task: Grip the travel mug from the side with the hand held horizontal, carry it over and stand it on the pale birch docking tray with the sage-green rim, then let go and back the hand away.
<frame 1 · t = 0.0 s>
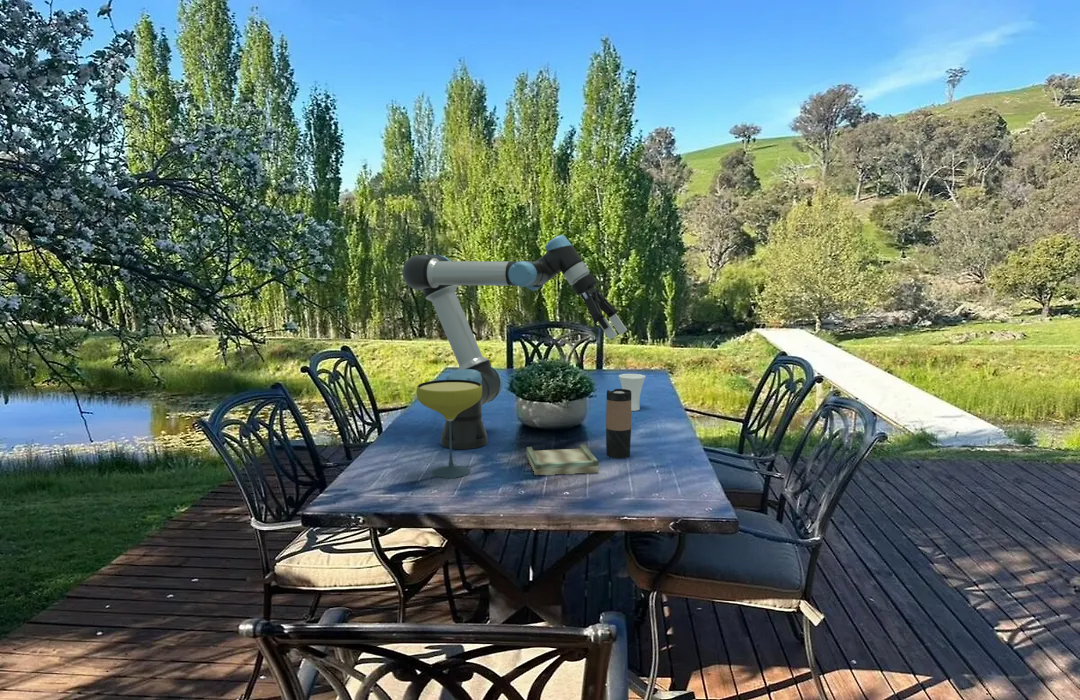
hand: (618, 335, 216), 36 cm above the table, tool tilted 35°, fingers open, 13 cm apart
cocktail glass: (451, 472, 194), on the table
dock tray: (561, 464, 201), on the table
travel mug: (618, 455, 211), on the table
cup: (631, 409, 274), on the table
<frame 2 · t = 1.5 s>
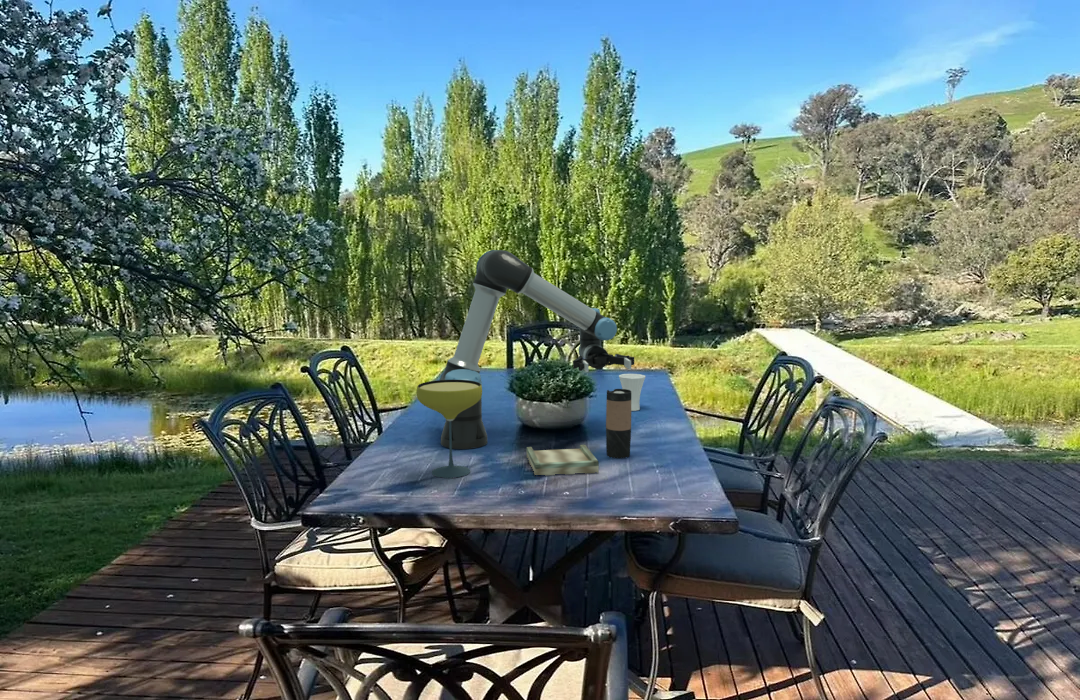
hand: (608, 366, 215), 26 cm above the table, tool horizontal, fingers open, 13 cm apart
nothing on the table moved.
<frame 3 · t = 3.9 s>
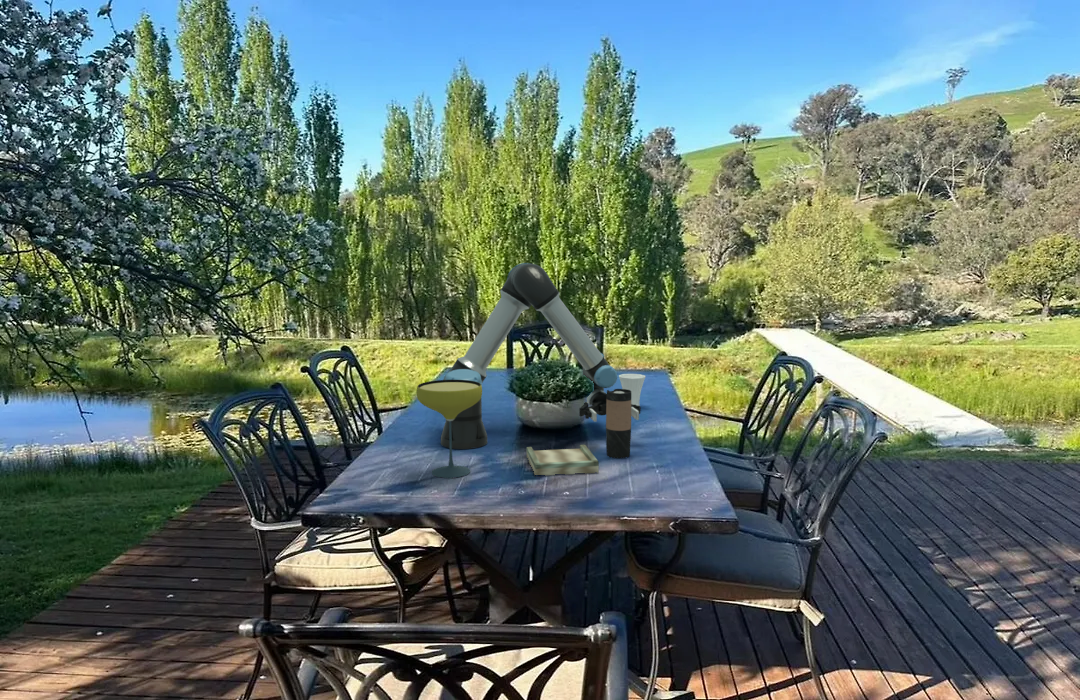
hand: (616, 416, 214), 11 cm above the table, tool horizontal, fingers open, 13 cm apart
nothing on the table moved.
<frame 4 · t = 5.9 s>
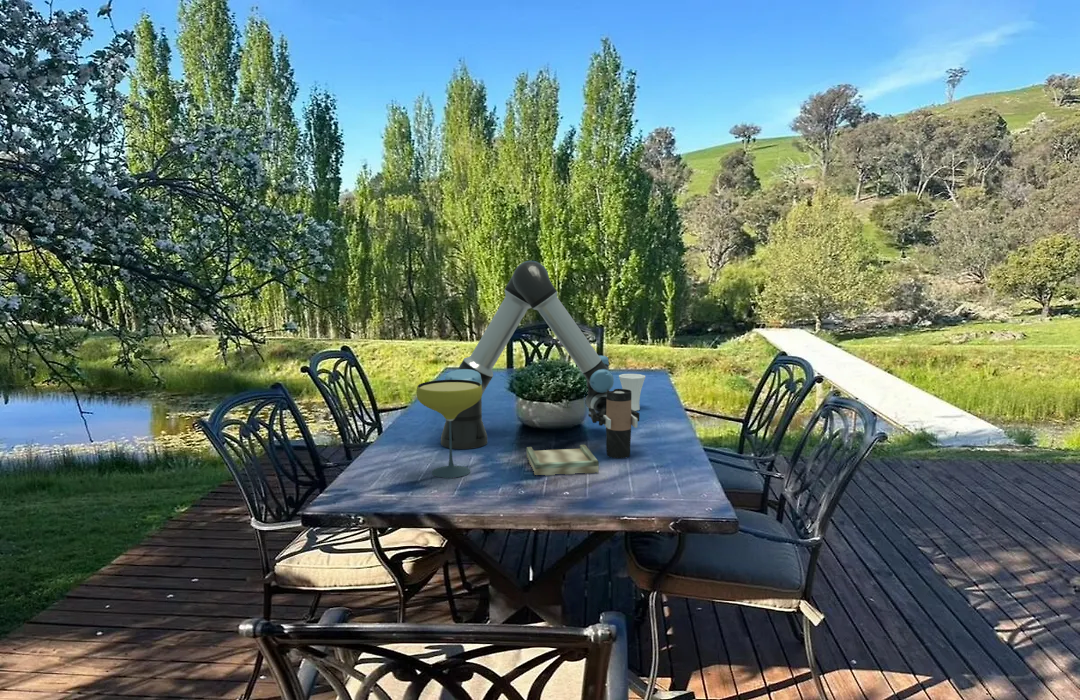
hand: (623, 423, 204), 11 cm above the table, tool horizontal, fingers closed on travel mug, 7 cm apart
travel mug: (618, 455, 211), on the table, touching gripper
everything else where it was.
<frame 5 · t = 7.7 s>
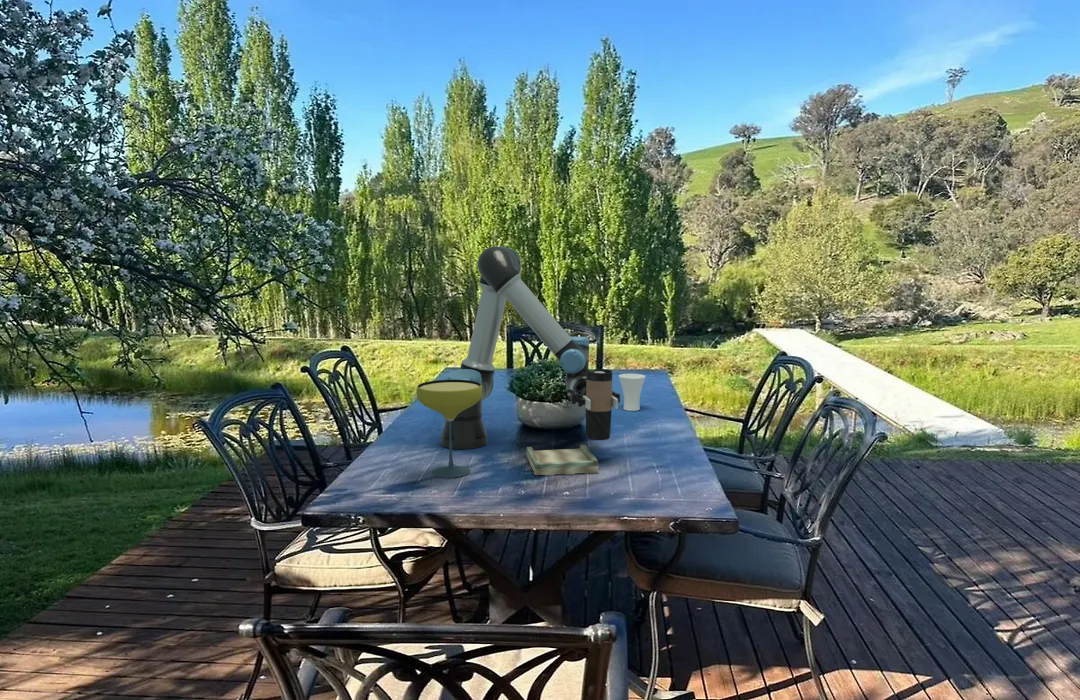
hand: (603, 404, 198), 18 cm above the table, tool horizontal, fingers closed on travel mug, 7 cm apart
travel mug: (597, 437, 204), point 7 cm above the table, touching gripper
everything else where it was.
when the fingers open (14 cm above the table, at t = 9.6 s): travel mug drops 1 cm, resting on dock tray.
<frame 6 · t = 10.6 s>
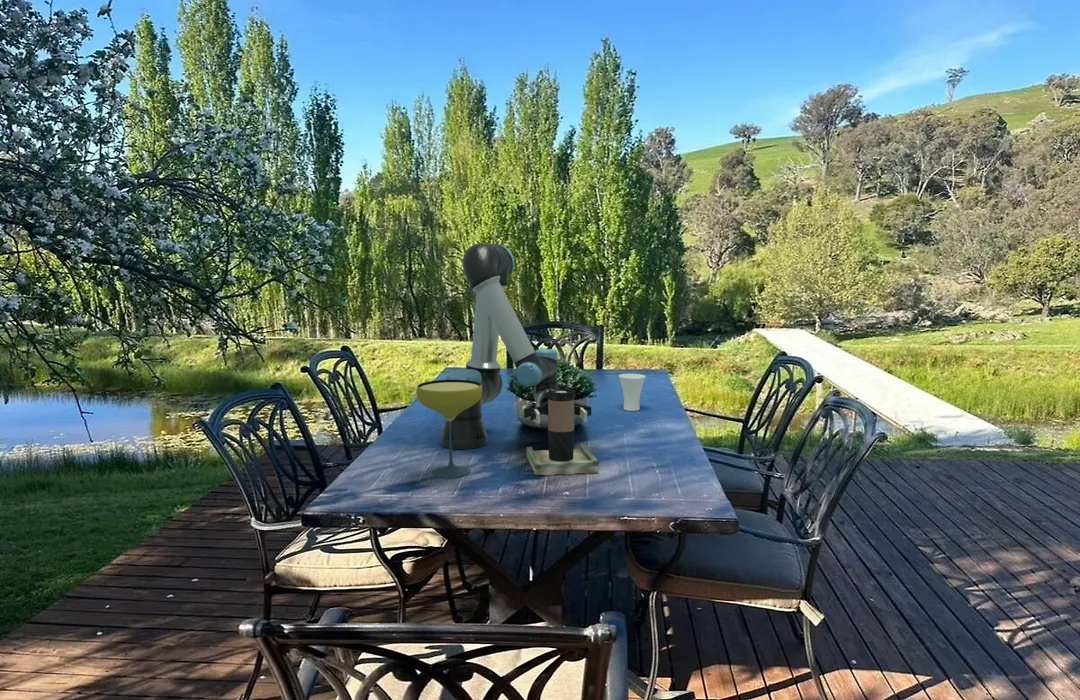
hand: (562, 418, 196), 15 cm above the table, tool horizontal, fingers open, 13 cm apart
travel mug: (561, 458, 201), point 2 cm above the table, touching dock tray
everything else where it was.
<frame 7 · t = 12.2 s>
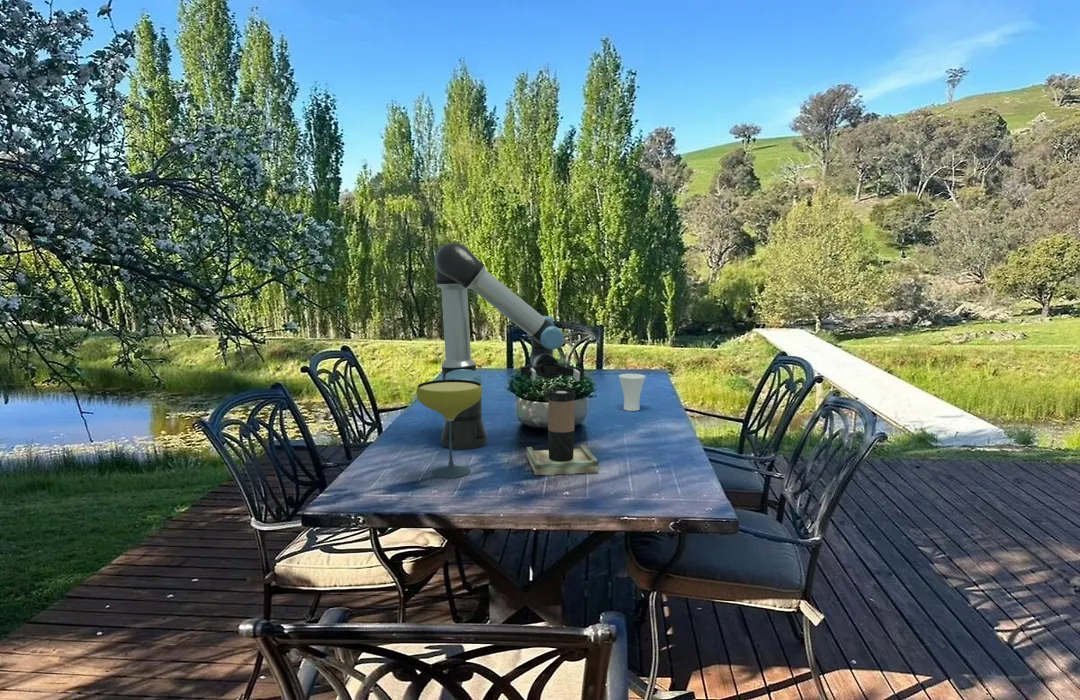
hand: (556, 376, 209), 24 cm above the table, tool horizontal, fingers open, 13 cm apart
nothing on the table moved.
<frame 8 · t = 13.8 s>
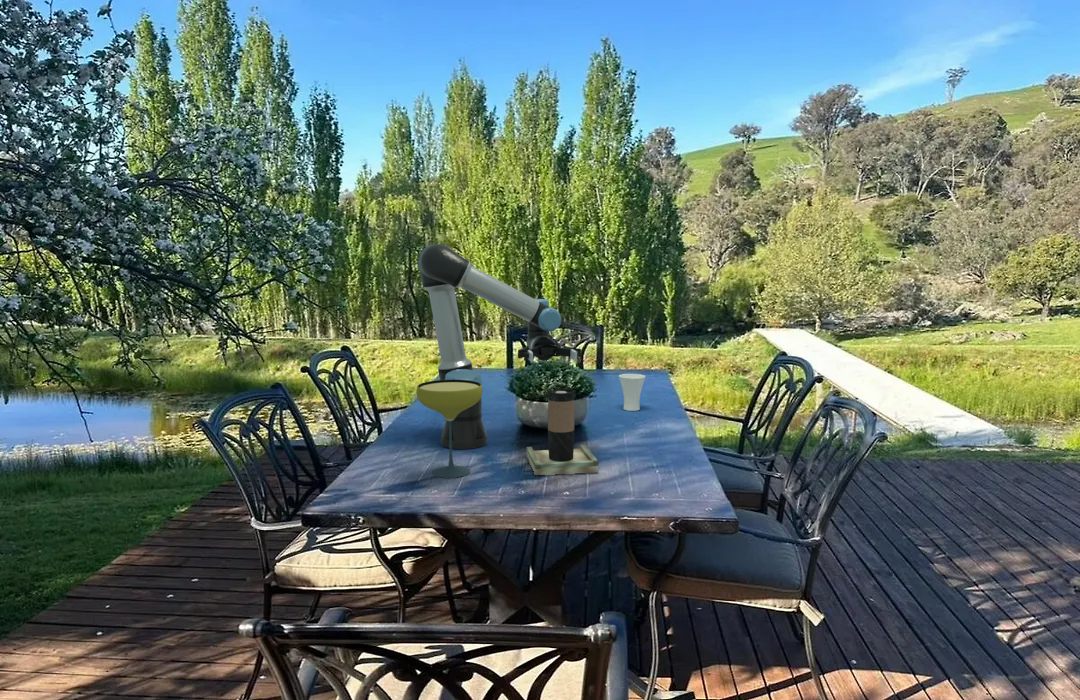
hand: (554, 357, 209), 30 cm above the table, tool horizontal, fingers open, 13 cm apart
nothing on the table moved.
at the end: travel mug inside the target area on the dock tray (0.5 cm from its centre), point 1.8 cm above the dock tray's base; travel mug tilted 0°; the gripper is holding nothing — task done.
